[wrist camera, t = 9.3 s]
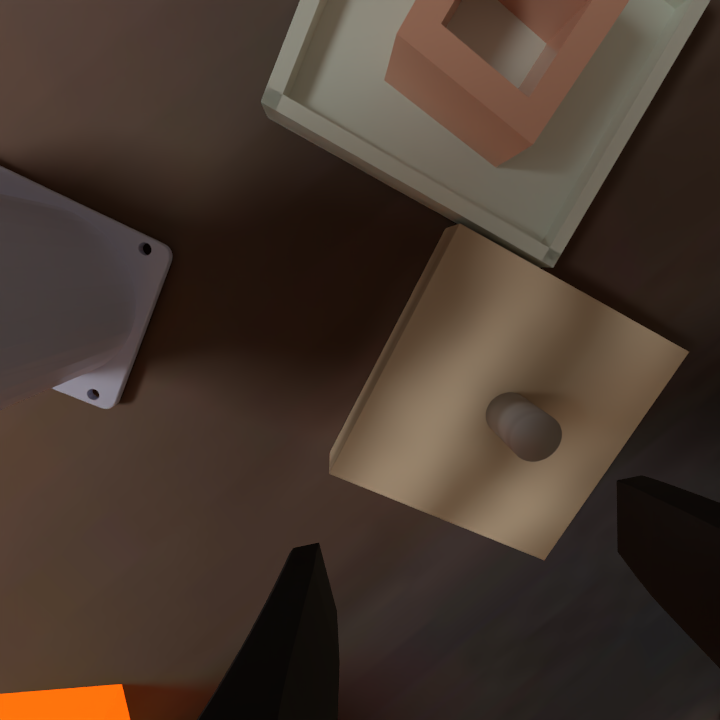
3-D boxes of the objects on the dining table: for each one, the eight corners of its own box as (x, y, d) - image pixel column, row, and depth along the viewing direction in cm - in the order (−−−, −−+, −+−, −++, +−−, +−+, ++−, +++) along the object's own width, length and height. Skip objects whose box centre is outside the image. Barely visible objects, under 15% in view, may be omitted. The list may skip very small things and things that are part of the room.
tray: (267, 117, 15) (260, 102, 14) (395, -207, 13) (403, -267, 11) (534, 267, 17) (553, 267, 16) (682, 11, 15) (719, -16, 14)
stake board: (329, 452, 19) (328, 508, 14) (445, 228, 17) (485, 214, 12) (524, 532, 21) (574, 603, 16) (652, 342, 18) (749, 366, 14)
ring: (495, 167, 15) (532, 144, 13) (384, 79, 14) (396, 33, 12) (582, 36, 15) (643, -22, 12) (469, -68, 13) (505, -159, 11)
